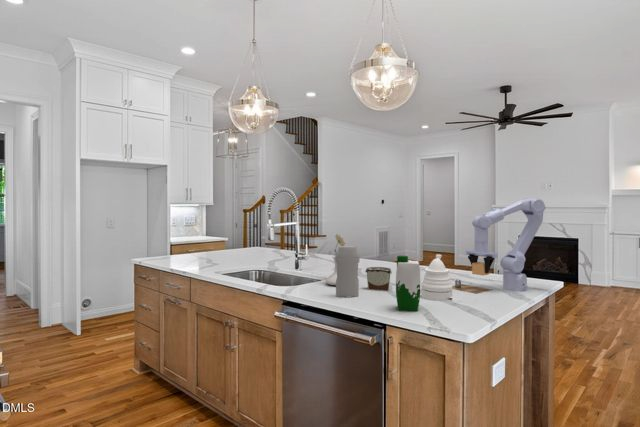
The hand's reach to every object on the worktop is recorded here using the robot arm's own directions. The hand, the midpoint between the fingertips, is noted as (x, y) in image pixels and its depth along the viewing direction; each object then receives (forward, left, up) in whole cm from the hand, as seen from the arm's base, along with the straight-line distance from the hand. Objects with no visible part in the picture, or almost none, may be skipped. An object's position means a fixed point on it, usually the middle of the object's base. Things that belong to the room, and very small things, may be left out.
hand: (480, 272), depth 183 cm
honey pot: (+6, +25, -9) cm, 27 cm away
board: (+4, +3, -9) cm, 10 cm away
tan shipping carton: (0, 0, -1) cm, 1 cm away
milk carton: (+1, +50, -9) cm, 50 cm away
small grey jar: (+8, +6, -8) cm, 12 cm away
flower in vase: (+52, +42, -9) cm, 67 cm away
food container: (+32, +33, -9) cm, 47 cm away
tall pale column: (+30, +55, -9) cm, 63 cm away
